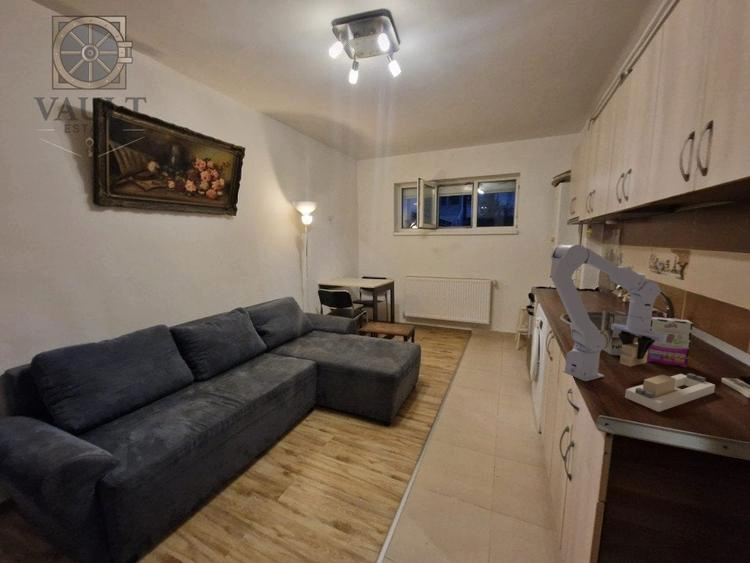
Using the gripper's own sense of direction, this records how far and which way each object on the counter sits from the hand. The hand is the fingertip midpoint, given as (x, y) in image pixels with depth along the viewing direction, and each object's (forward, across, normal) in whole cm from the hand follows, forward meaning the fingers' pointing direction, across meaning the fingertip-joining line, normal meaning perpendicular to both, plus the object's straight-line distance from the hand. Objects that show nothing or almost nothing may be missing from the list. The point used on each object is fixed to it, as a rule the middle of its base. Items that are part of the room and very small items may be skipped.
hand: (633, 356), depth 102 cm
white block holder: (+7, -12, +3) cm, 14 cm away
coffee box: (+7, +17, -19) cm, 26 cm away
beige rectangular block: (+2, 0, 0) cm, 2 cm away
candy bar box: (+7, +3, -25) cm, 26 cm away
